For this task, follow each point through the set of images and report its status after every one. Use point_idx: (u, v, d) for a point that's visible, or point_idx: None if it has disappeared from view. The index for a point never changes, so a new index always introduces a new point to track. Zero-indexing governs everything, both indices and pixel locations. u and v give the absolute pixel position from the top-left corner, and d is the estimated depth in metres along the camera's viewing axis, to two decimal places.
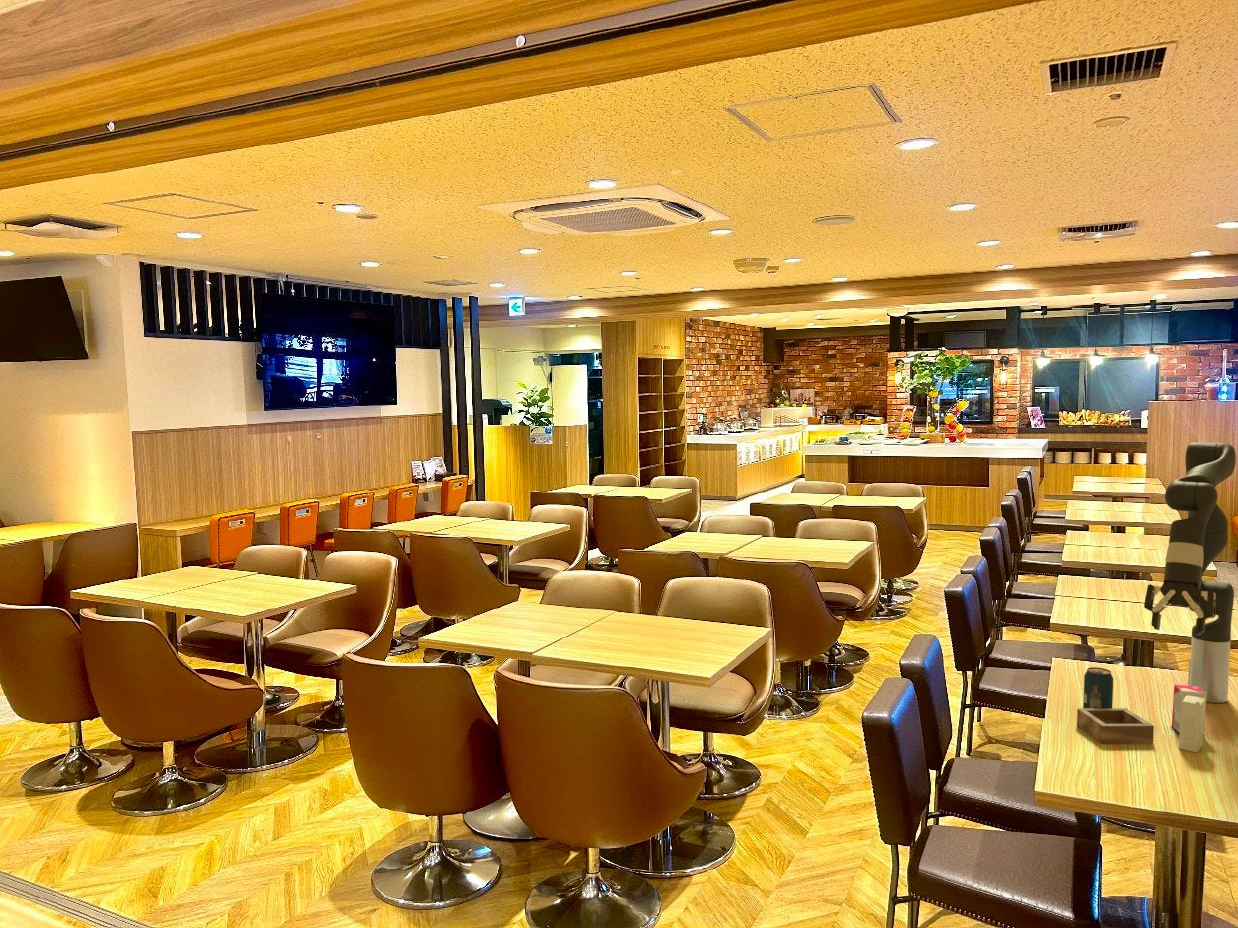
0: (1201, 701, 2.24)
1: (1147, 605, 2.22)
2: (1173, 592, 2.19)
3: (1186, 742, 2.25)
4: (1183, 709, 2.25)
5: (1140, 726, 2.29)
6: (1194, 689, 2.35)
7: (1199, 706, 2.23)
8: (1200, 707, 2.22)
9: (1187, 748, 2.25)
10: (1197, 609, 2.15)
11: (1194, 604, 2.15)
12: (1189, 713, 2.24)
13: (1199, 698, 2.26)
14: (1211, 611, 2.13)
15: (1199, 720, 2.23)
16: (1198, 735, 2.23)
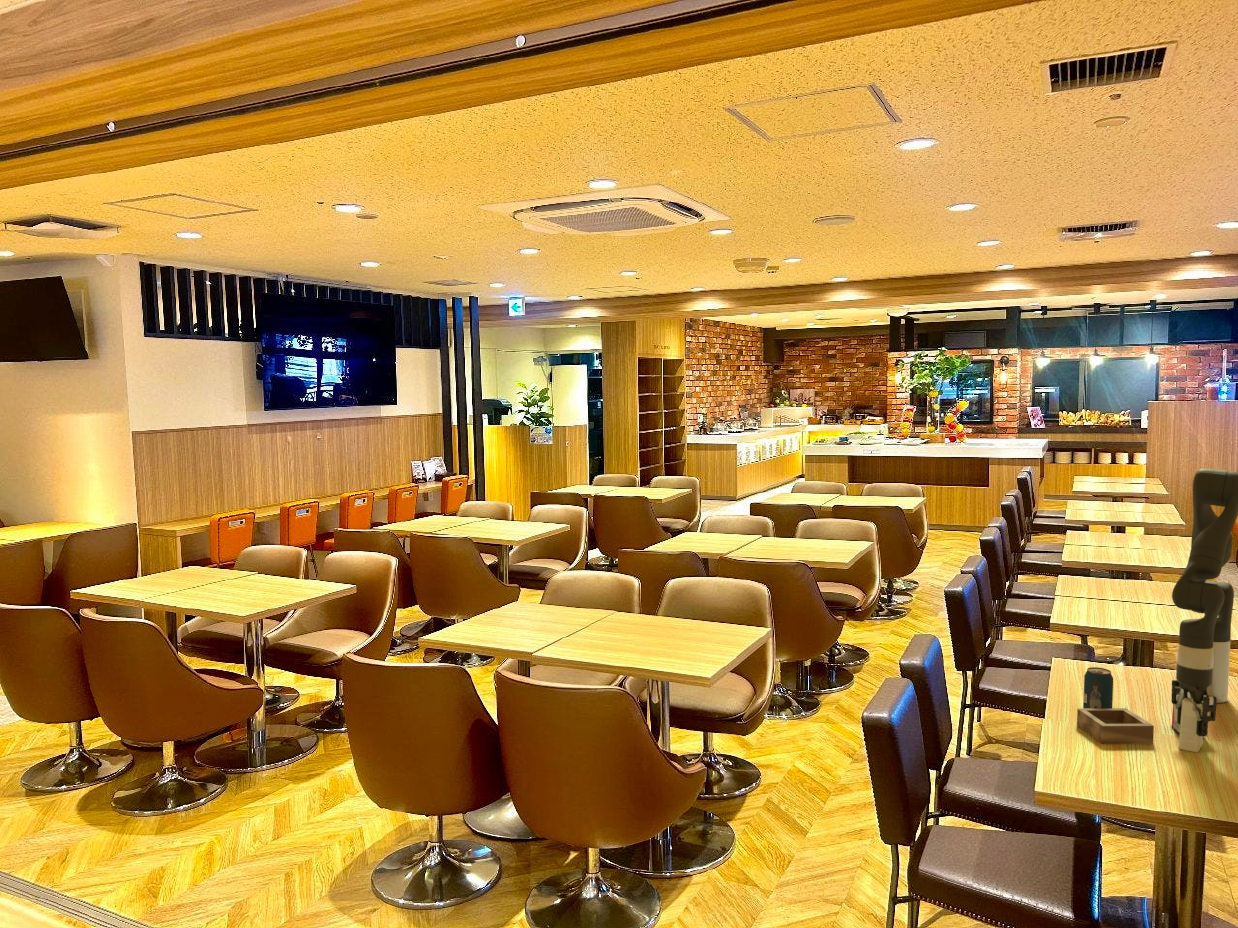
0: None
1: (1173, 700, 2.32)
2: (1182, 691, 2.27)
3: (1186, 742, 2.25)
4: (1183, 709, 2.25)
5: (1140, 726, 2.29)
6: None
7: (1199, 706, 2.23)
8: (1200, 707, 2.22)
9: (1187, 748, 2.25)
10: (1197, 712, 2.22)
11: (1194, 707, 2.23)
12: (1189, 713, 2.24)
13: None
14: (1204, 716, 2.20)
15: None
16: None
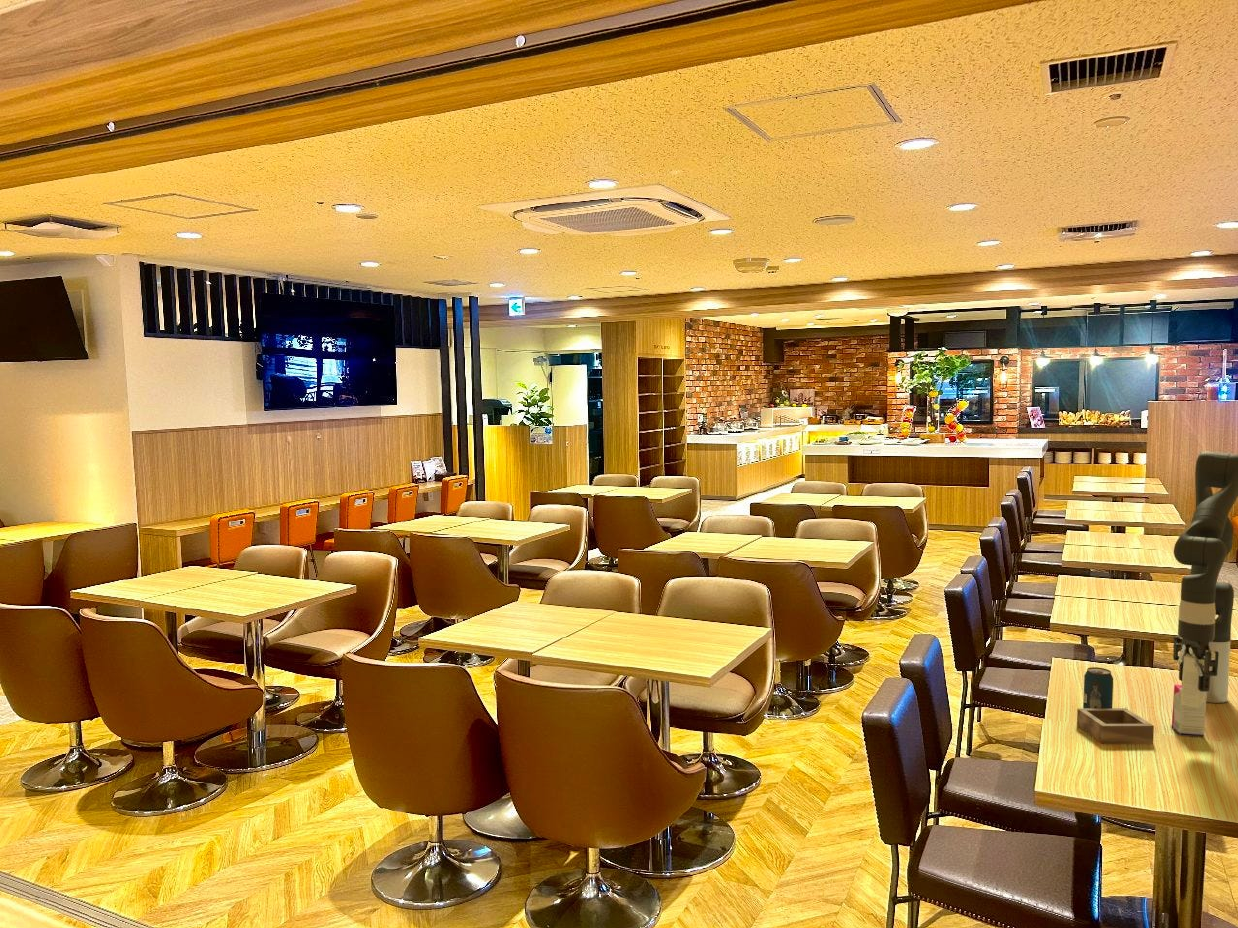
0: None
1: (1174, 657, 2.31)
2: (1184, 647, 2.26)
3: (1187, 697, 2.24)
4: (1185, 665, 2.24)
5: (1140, 726, 2.29)
6: None
7: (1201, 661, 2.22)
8: (1202, 662, 2.22)
9: (1189, 704, 2.24)
10: (1199, 667, 2.22)
11: (1196, 662, 2.22)
12: (1191, 669, 2.23)
13: None
14: (1206, 671, 2.19)
15: None
16: None
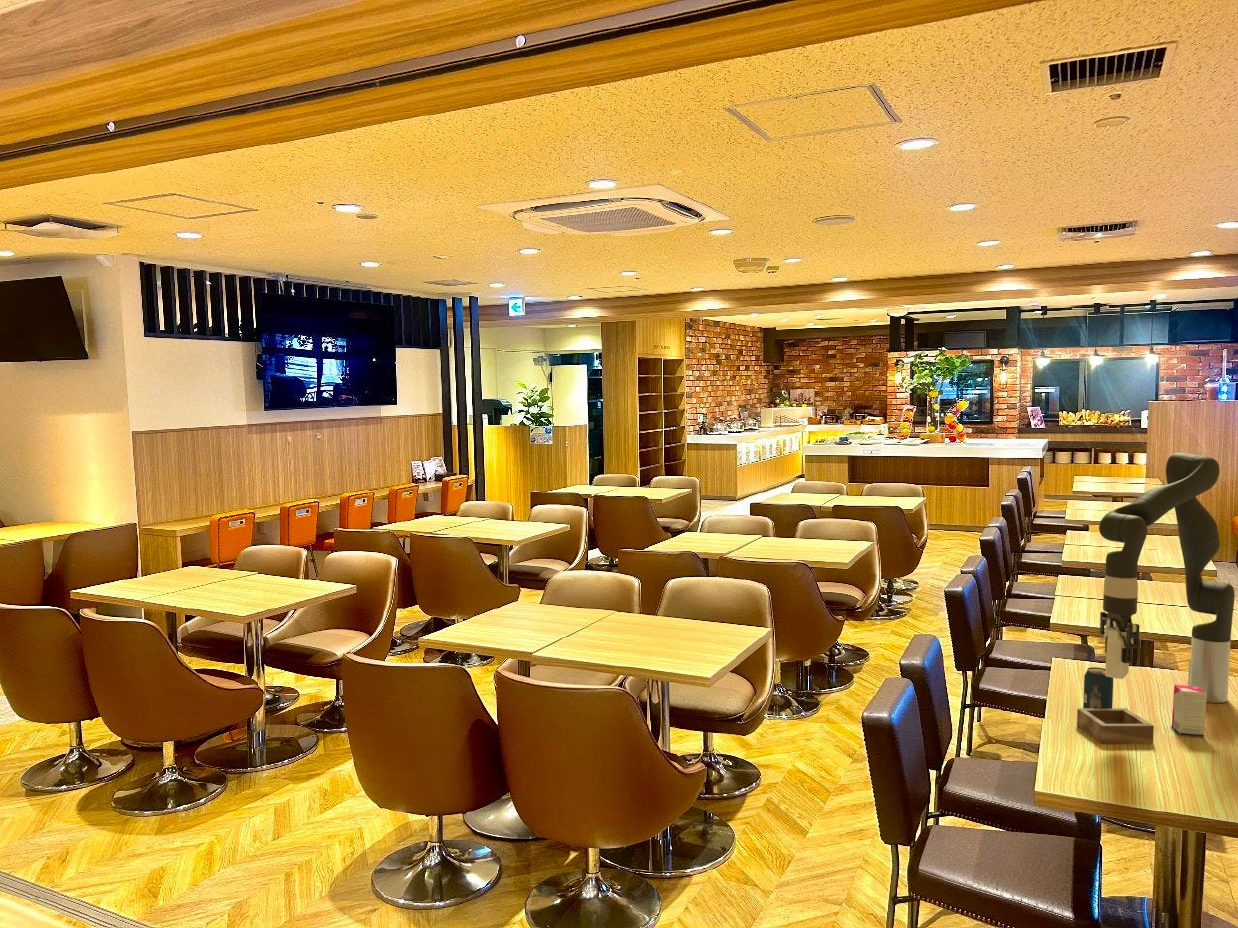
0: None
1: (1101, 631, 2.40)
2: (1109, 621, 2.34)
3: (1111, 669, 2.33)
4: (1109, 638, 2.32)
5: (1140, 726, 2.29)
6: (1194, 689, 2.35)
7: (1123, 634, 2.30)
8: (1124, 635, 2.30)
9: (1113, 675, 2.33)
10: (1121, 639, 2.30)
11: (1119, 635, 2.30)
12: (1114, 641, 2.32)
13: None
14: (1128, 643, 2.27)
15: None
16: None
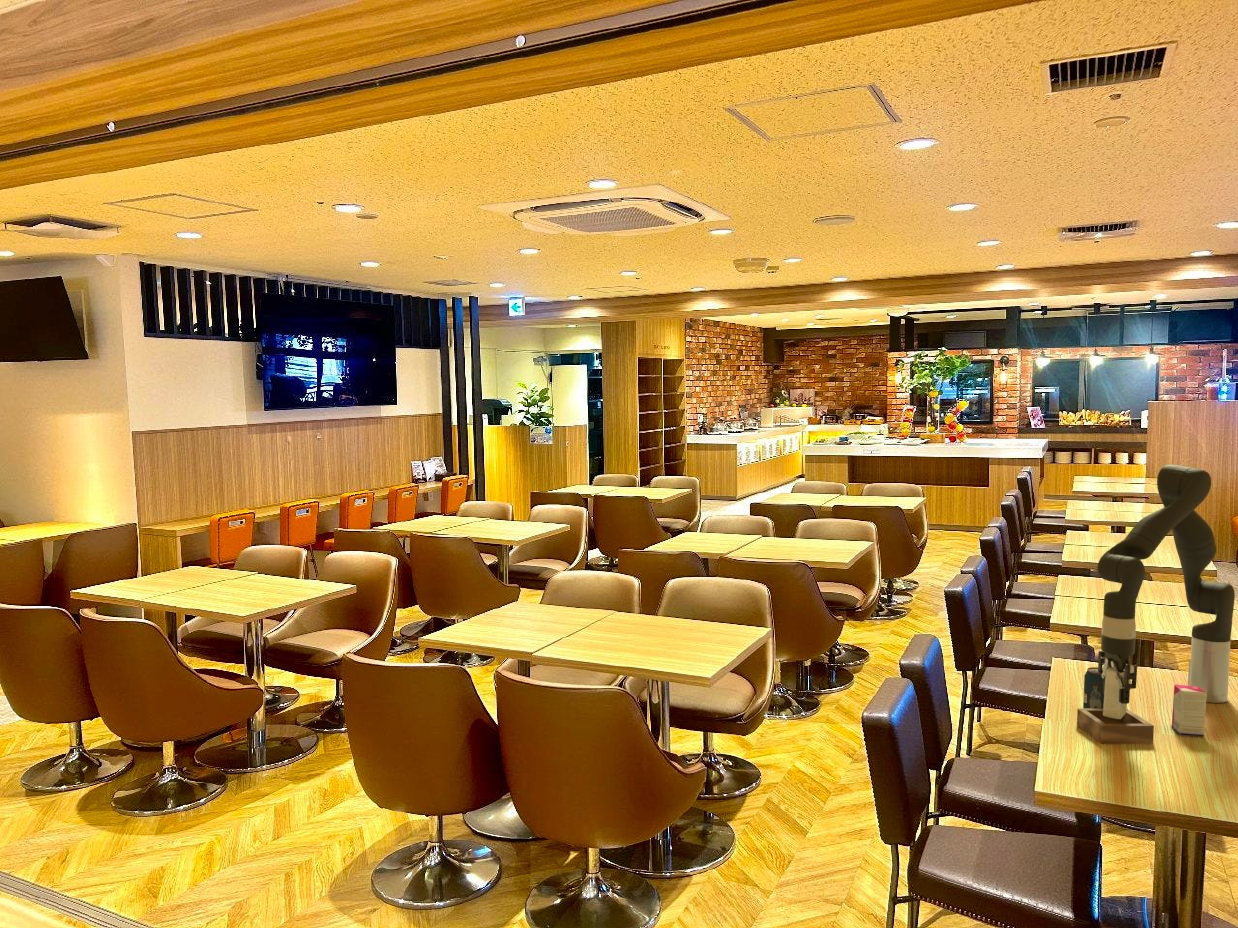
0: None
1: (1099, 670, 2.41)
2: (1107, 661, 2.35)
3: (1109, 709, 2.33)
4: (1107, 678, 2.33)
5: (1140, 726, 2.29)
6: (1194, 689, 2.35)
7: (1121, 674, 2.31)
8: (1122, 675, 2.31)
9: (1111, 715, 2.33)
10: (1119, 680, 2.31)
11: (1116, 675, 2.31)
12: (1112, 681, 2.33)
13: None
14: (1125, 684, 2.28)
15: None
16: None
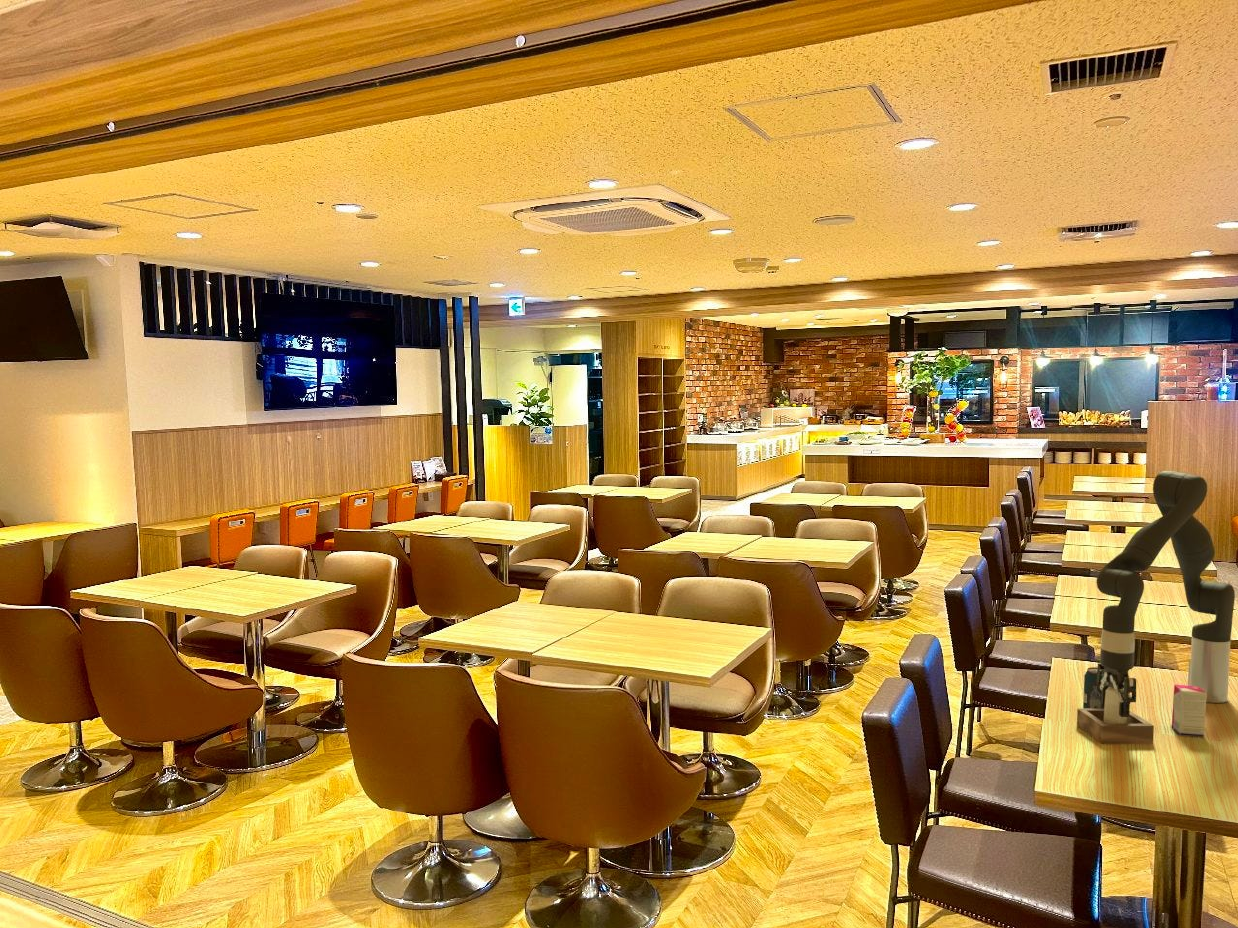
0: None
1: (1097, 682, 2.41)
2: (1106, 674, 2.36)
3: None
4: (1106, 697, 2.33)
5: (1140, 726, 2.29)
6: (1194, 689, 2.35)
7: None
8: None
9: None
10: (1119, 693, 2.31)
11: (1116, 689, 2.31)
12: (1112, 701, 2.33)
13: None
14: (1125, 697, 2.28)
15: None
16: (1120, 722, 2.32)
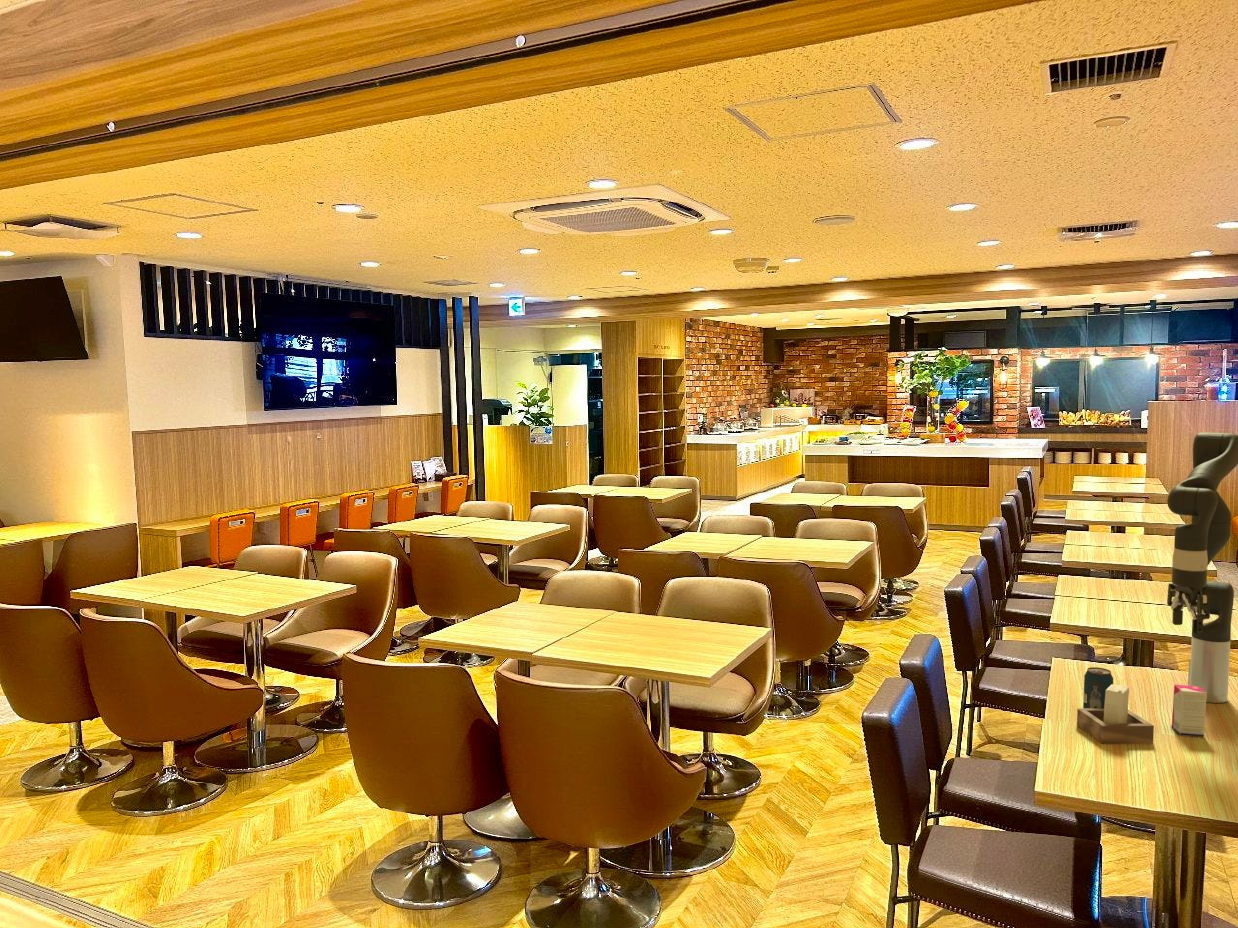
0: (1124, 690, 2.33)
1: (1168, 602, 2.42)
2: (1178, 593, 2.36)
3: None
4: (1106, 697, 2.33)
5: (1140, 726, 2.29)
6: (1194, 689, 2.35)
7: (1121, 694, 2.31)
8: (1122, 695, 2.31)
9: None
10: (1192, 611, 2.32)
11: (1189, 606, 2.32)
12: (1112, 701, 2.33)
13: (1123, 687, 2.35)
14: (1199, 614, 2.29)
15: (1121, 708, 2.31)
16: (1120, 722, 2.32)
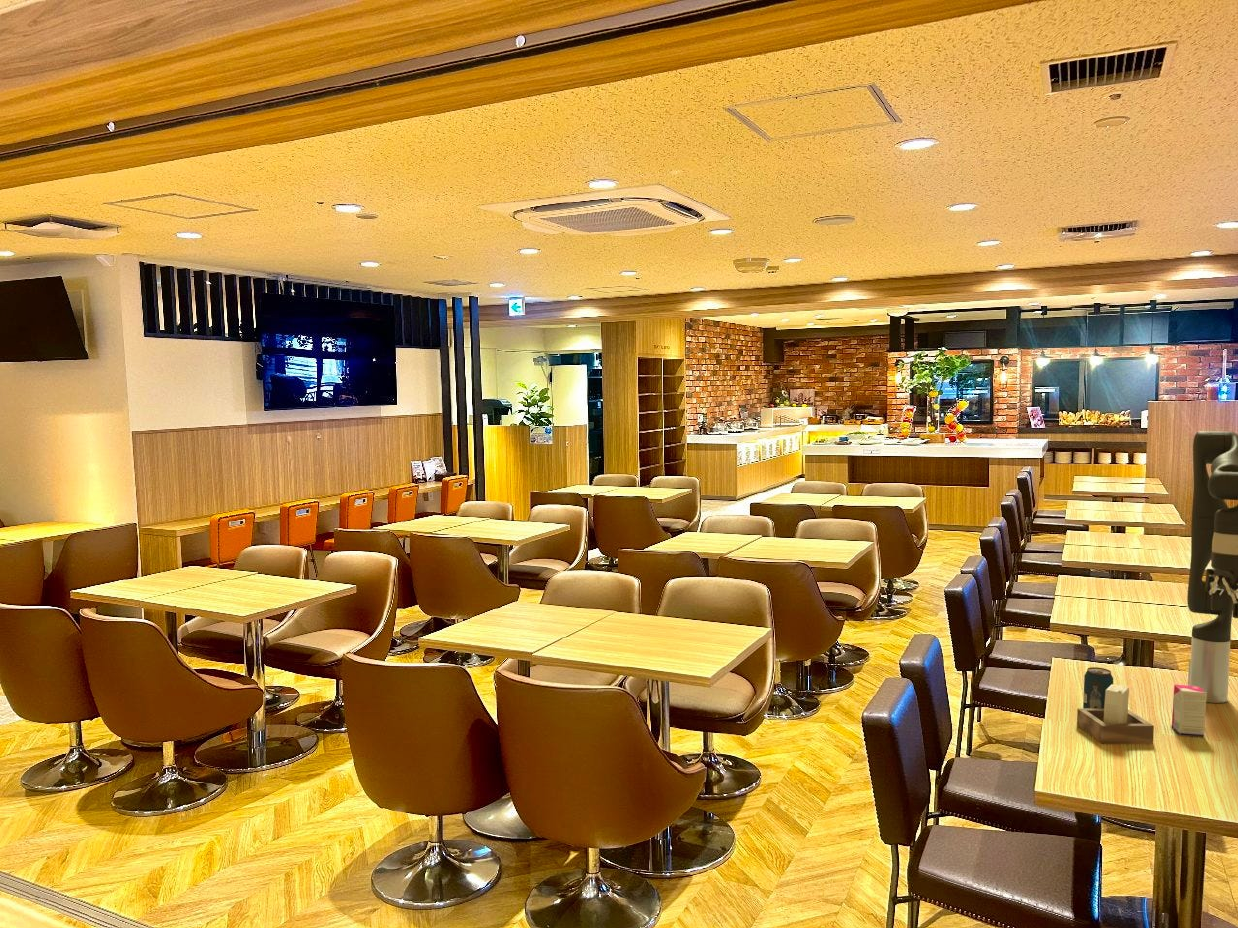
0: (1124, 690, 2.33)
1: (1206, 588, 2.42)
2: (1217, 578, 2.37)
3: None
4: (1106, 697, 2.33)
5: (1140, 726, 2.29)
6: (1194, 689, 2.35)
7: (1121, 694, 2.31)
8: (1122, 695, 2.31)
9: None
10: (1233, 595, 2.32)
11: (1229, 590, 2.33)
12: (1112, 701, 2.33)
13: (1123, 687, 2.35)
14: None
15: (1121, 708, 2.31)
16: (1120, 722, 2.32)
